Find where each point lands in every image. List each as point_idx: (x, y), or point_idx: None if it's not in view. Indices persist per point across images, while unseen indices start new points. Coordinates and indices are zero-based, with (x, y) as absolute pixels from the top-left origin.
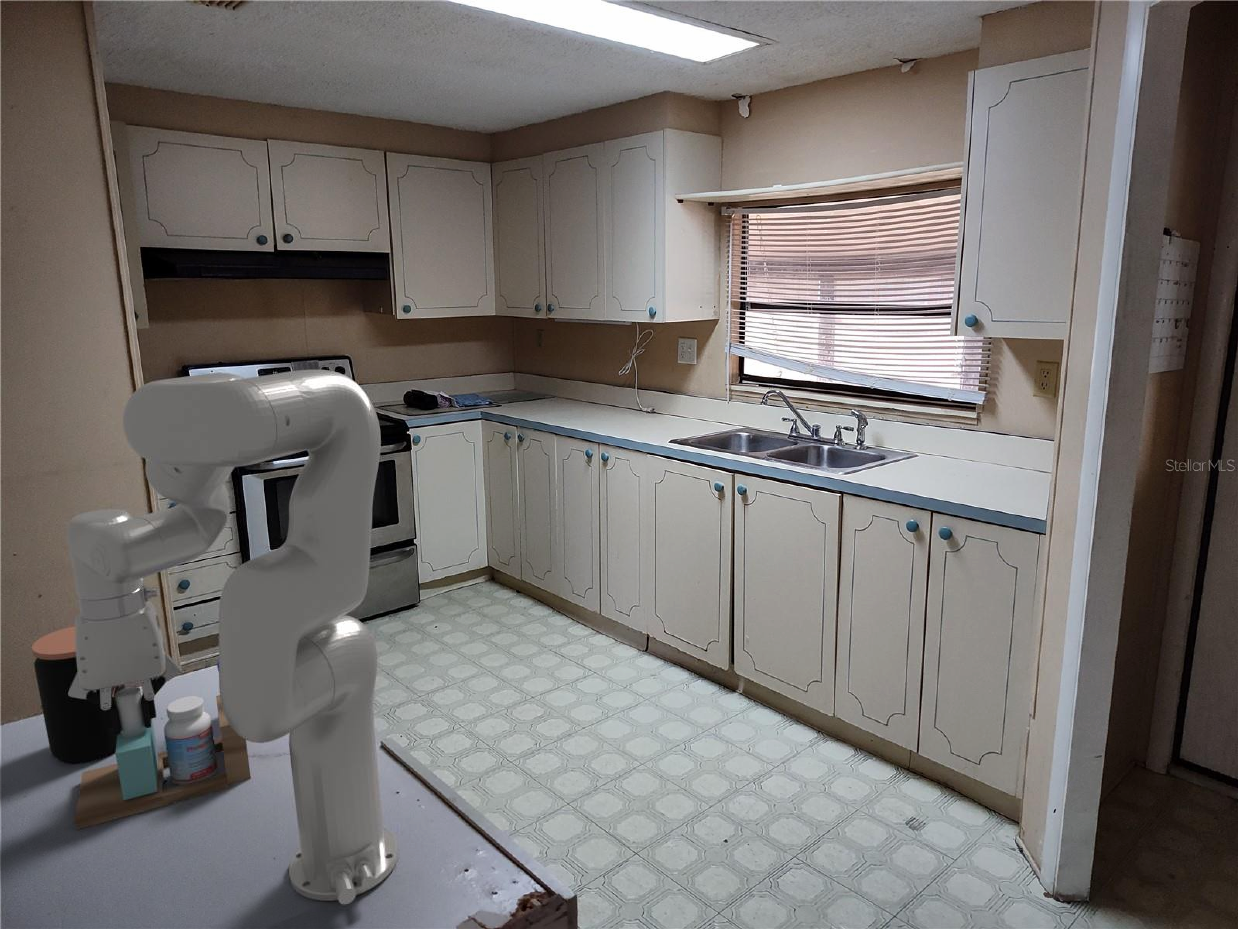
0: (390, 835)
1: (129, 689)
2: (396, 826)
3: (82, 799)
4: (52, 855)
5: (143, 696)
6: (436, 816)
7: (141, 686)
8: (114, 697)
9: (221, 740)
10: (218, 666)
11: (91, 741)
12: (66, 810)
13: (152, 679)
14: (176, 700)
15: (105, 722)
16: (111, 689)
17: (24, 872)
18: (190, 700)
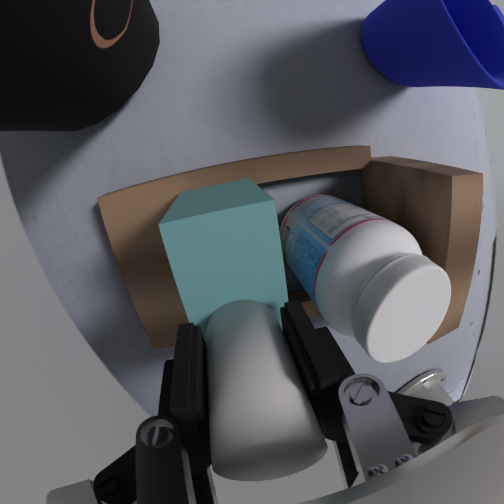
0: (443, 383)
1: (274, 449)
2: (451, 362)
3: (138, 299)
4: (151, 373)
5: (329, 436)
6: (469, 352)
7: (345, 487)
8: (100, 33)
9: (370, 156)
10: (446, 11)
11: (82, 120)
12: (114, 282)
13: (399, 425)
14: (399, 288)
15: (97, 88)
16: (190, 480)
17: (135, 387)
18: (429, 296)
